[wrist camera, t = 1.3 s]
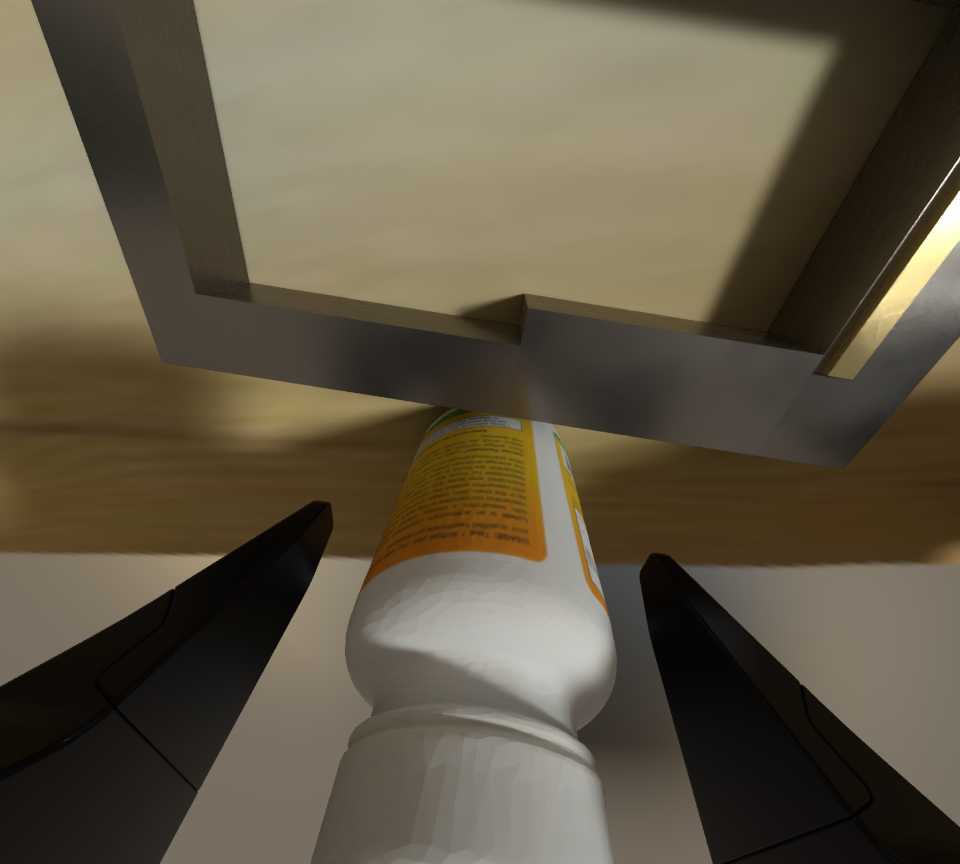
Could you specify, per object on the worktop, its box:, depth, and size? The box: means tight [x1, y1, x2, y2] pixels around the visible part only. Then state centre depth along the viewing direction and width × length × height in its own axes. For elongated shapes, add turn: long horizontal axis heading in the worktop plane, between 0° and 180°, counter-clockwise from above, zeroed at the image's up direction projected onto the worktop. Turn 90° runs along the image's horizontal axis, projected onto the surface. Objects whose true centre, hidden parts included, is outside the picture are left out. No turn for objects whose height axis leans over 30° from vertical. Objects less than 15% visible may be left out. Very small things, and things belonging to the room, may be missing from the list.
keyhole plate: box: [31, 0, 960, 469], centre depth 7 cm, size 19×12×2 cm, turn 82°
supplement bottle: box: [311, 408, 617, 864], centre depth 9 cm, size 5×5×10 cm
